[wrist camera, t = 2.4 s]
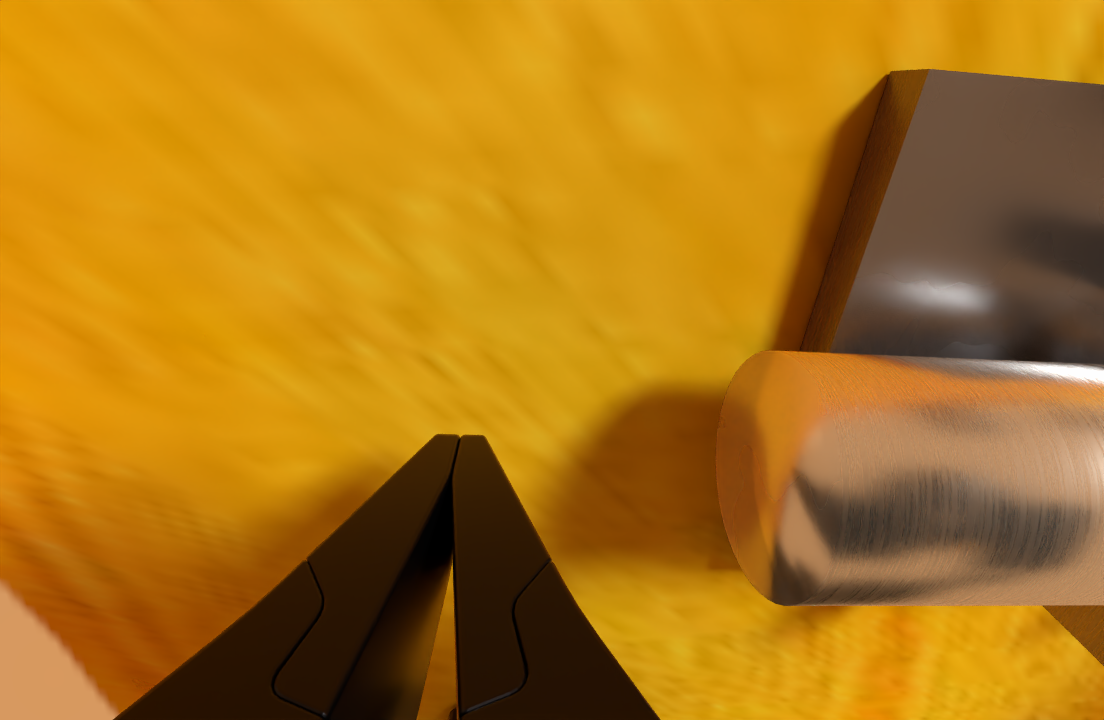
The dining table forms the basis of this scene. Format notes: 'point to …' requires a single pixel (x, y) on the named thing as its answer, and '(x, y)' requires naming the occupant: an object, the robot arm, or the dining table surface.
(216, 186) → the dining table surface
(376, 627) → the robot arm
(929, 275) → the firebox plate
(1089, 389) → the tube
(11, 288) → the dining table surface
